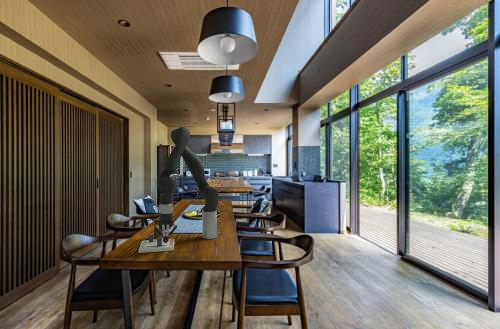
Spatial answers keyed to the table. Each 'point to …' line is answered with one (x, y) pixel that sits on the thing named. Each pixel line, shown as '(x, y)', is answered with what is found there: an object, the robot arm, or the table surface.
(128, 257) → the table surface
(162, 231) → the condiment
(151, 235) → the block
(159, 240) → the block
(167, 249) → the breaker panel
